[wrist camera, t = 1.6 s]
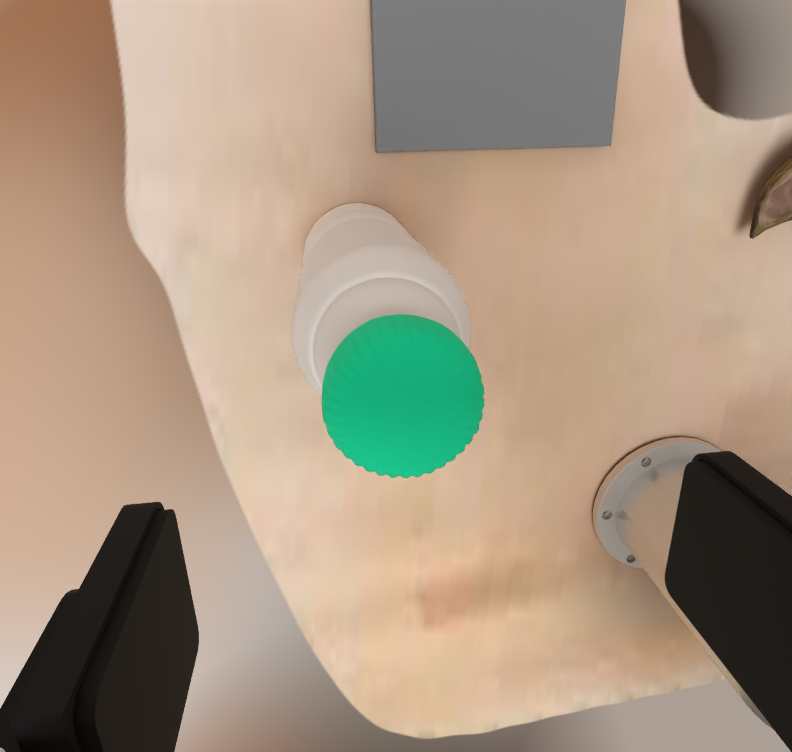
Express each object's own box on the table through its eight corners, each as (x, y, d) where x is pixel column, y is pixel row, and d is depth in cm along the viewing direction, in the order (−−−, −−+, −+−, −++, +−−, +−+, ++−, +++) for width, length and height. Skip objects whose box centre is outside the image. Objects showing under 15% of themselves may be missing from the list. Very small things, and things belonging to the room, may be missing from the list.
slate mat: (626, -97, 34) (636, -105, 32) (602, 145, 38) (610, 145, 37) (366, -101, 32) (368, -110, 31) (375, 152, 37) (377, 152, 36)
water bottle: (322, 185, 37) (325, 250, 14) (424, 223, 39) (574, 337, 16) (290, 288, 39) (247, 490, 16) (388, 320, 41) (474, 544, 18)
